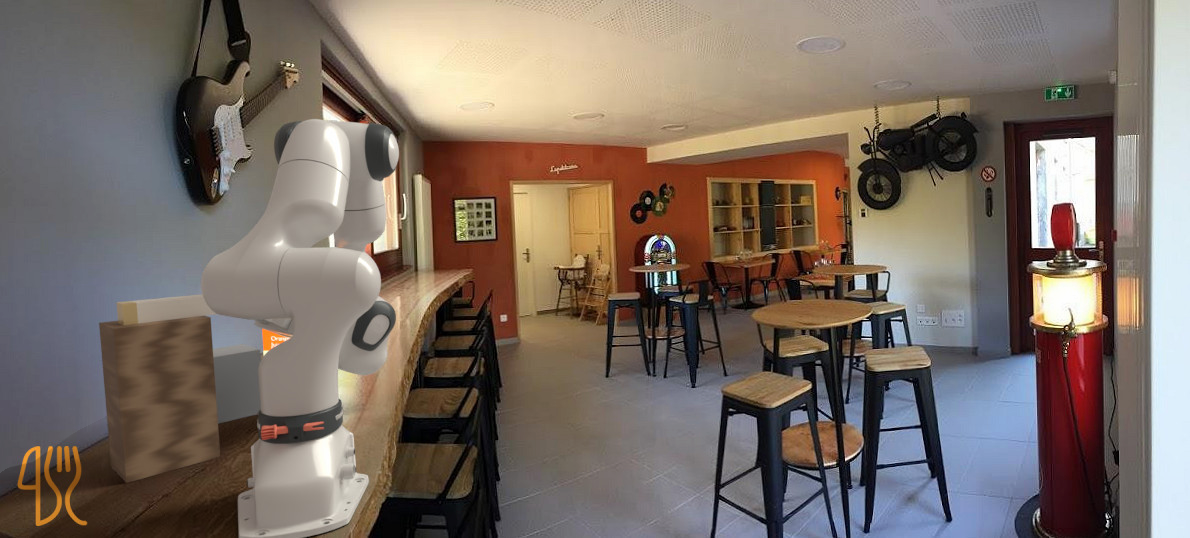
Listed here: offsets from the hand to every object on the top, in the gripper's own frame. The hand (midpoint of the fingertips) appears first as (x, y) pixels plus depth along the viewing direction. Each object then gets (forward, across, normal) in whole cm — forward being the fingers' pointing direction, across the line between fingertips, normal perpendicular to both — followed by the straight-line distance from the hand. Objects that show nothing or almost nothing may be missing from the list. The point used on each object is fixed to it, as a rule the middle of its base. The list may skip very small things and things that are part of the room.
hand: (253, 312), depth 119 cm
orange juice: (-33, -43, +10) cm, 55 cm away
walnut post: (+1, 0, +30) cm, 30 cm away
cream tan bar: (+10, 0, +5) cm, 11 cm away
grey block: (-14, -21, +21) cm, 33 cm away
